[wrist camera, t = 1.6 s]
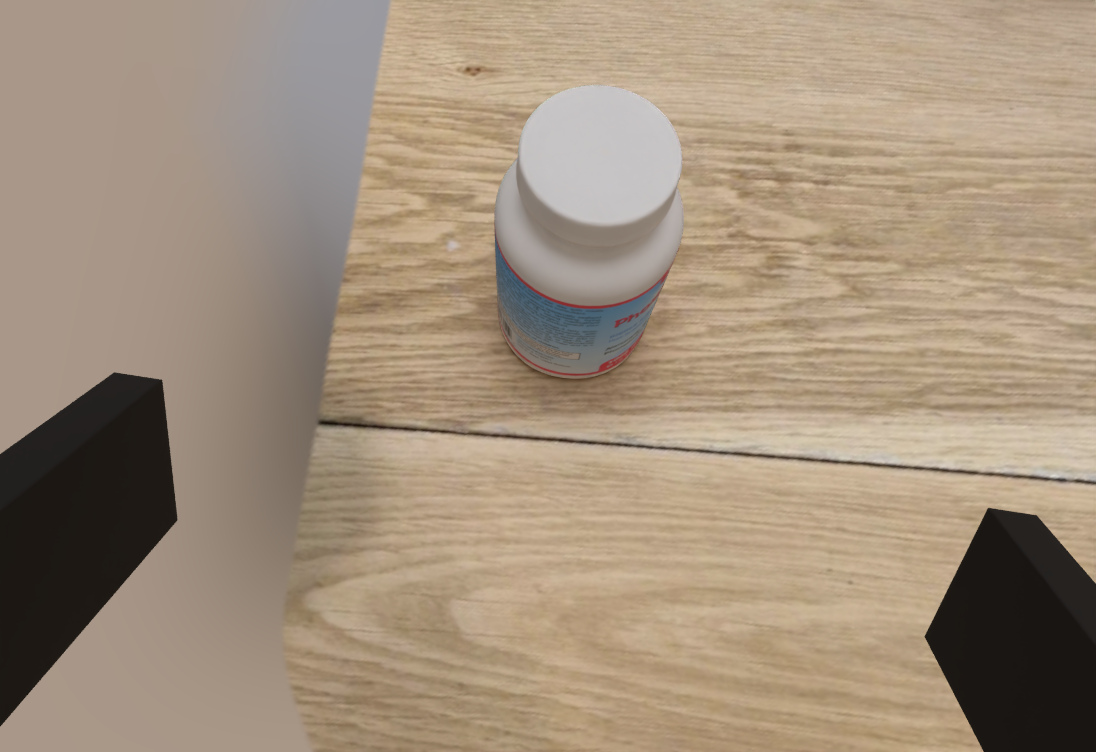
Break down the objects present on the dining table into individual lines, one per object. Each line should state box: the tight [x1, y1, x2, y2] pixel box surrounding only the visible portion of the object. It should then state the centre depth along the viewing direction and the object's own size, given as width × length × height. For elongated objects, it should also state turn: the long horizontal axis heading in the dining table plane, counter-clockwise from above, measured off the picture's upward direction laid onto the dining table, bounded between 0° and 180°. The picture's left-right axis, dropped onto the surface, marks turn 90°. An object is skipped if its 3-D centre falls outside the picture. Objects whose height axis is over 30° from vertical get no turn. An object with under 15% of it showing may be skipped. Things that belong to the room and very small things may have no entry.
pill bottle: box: [495, 85, 684, 379], centre depth 26 cm, size 6×6×11 cm
